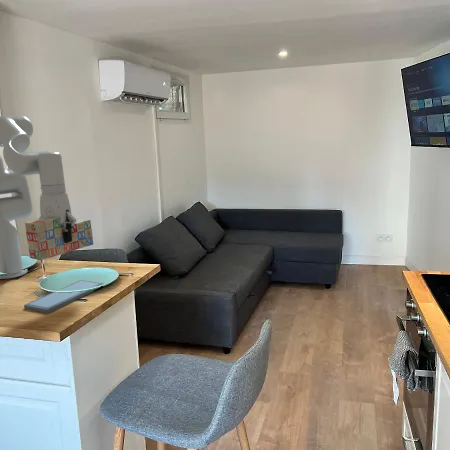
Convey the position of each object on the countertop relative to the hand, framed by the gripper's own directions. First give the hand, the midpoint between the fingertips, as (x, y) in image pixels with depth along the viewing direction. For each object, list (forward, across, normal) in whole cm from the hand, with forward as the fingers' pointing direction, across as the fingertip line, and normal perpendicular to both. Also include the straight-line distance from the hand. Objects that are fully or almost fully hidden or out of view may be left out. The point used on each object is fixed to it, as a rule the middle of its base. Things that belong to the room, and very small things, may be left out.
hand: (60, 241), depth 155 cm
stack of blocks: (+4, 0, +1) cm, 4 cm away
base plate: (+20, 0, -1) cm, 20 cm away
